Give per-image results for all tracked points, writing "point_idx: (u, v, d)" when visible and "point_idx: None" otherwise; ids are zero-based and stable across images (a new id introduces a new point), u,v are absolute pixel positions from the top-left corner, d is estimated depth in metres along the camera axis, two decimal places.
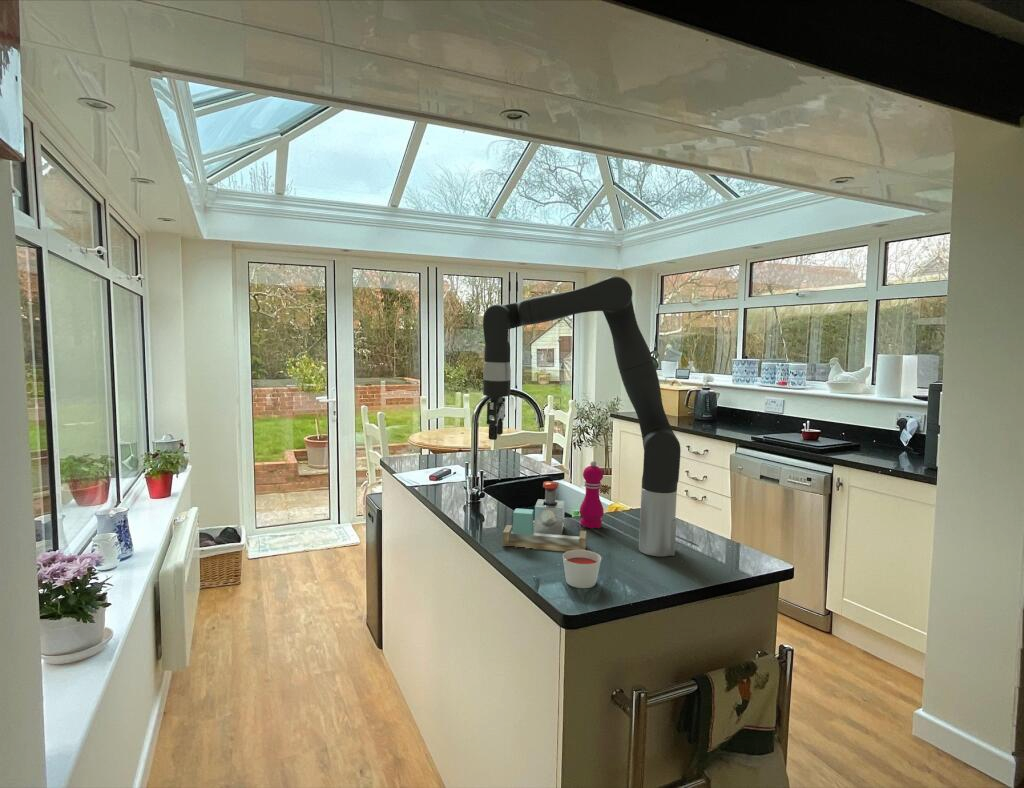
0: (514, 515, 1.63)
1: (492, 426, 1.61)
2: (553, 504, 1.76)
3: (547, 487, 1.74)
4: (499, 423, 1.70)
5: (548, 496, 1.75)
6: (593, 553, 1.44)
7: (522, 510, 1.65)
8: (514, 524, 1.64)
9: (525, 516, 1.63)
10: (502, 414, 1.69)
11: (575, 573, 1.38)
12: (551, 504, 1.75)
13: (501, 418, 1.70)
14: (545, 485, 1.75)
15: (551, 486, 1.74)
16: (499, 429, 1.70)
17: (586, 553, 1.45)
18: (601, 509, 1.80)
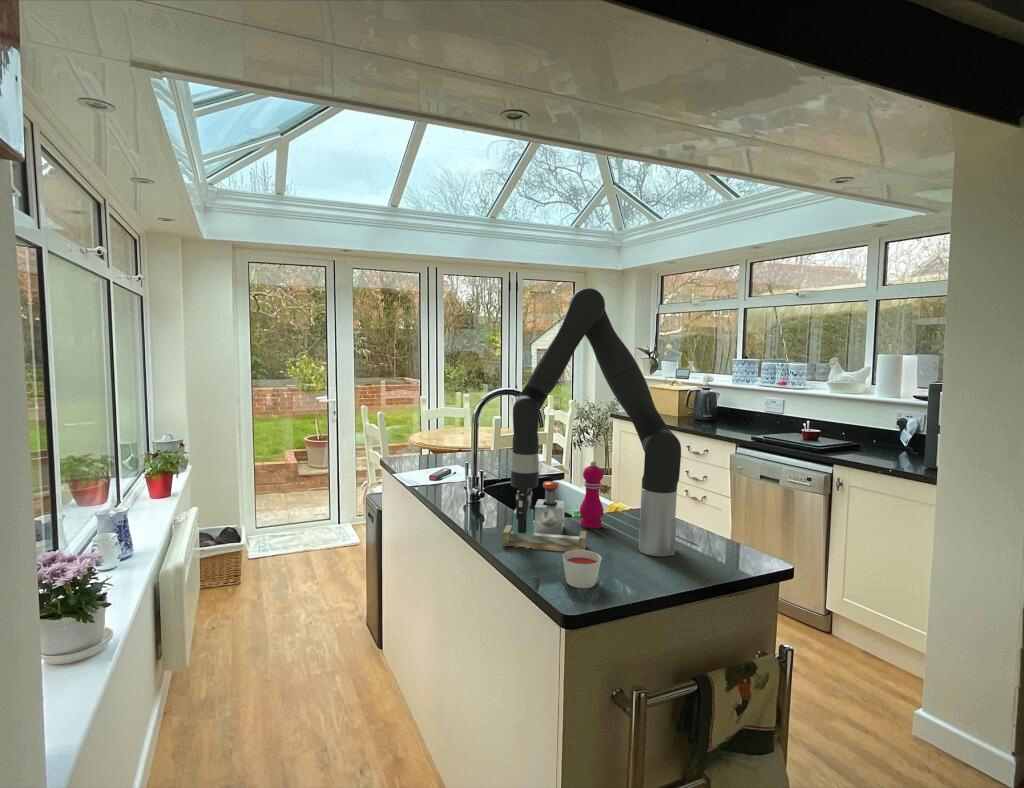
0: (514, 515, 1.63)
1: (521, 520, 1.62)
2: (553, 504, 1.76)
3: (547, 487, 1.74)
4: None
5: (548, 496, 1.75)
6: (593, 553, 1.44)
7: None
8: (514, 524, 1.64)
9: None
10: (529, 505, 1.66)
11: (575, 573, 1.38)
12: (551, 504, 1.75)
13: None
14: (545, 485, 1.75)
15: (551, 486, 1.74)
16: None
17: (586, 553, 1.45)
18: (601, 509, 1.80)
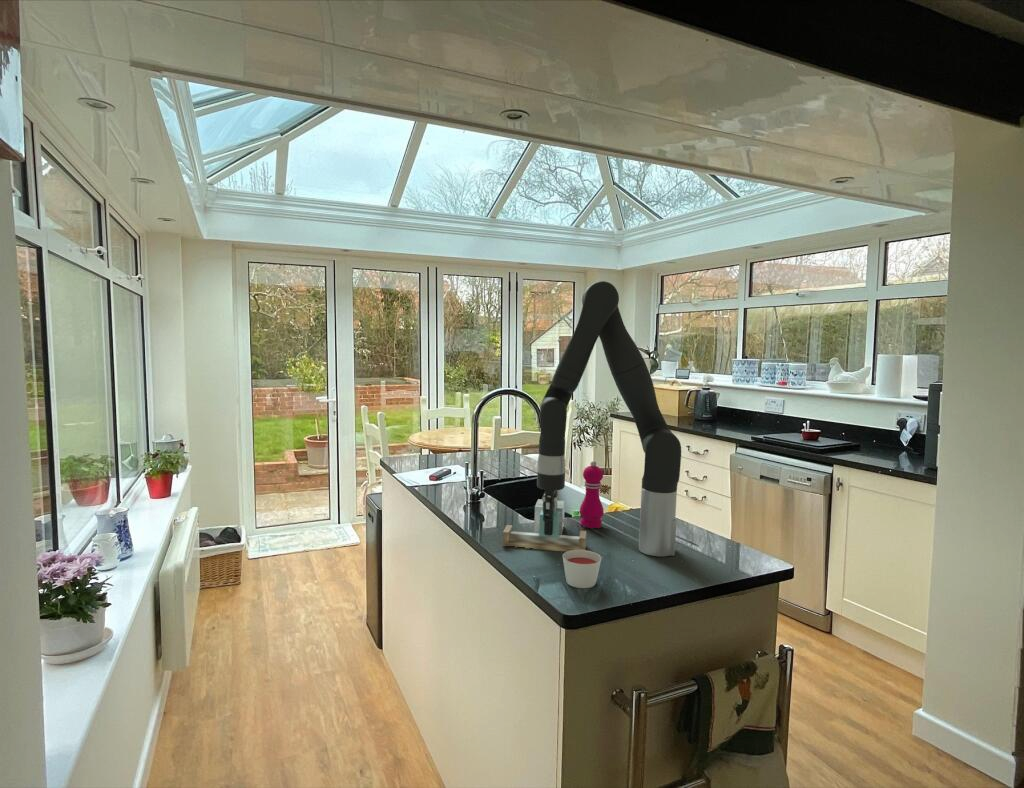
0: (540, 517, 1.62)
1: (548, 522, 1.61)
2: None
3: None
4: None
5: None
6: (593, 553, 1.44)
7: None
8: (540, 526, 1.62)
9: None
10: None
11: (575, 573, 1.38)
12: None
13: None
14: None
15: None
16: None
17: (586, 553, 1.45)
18: (601, 509, 1.80)
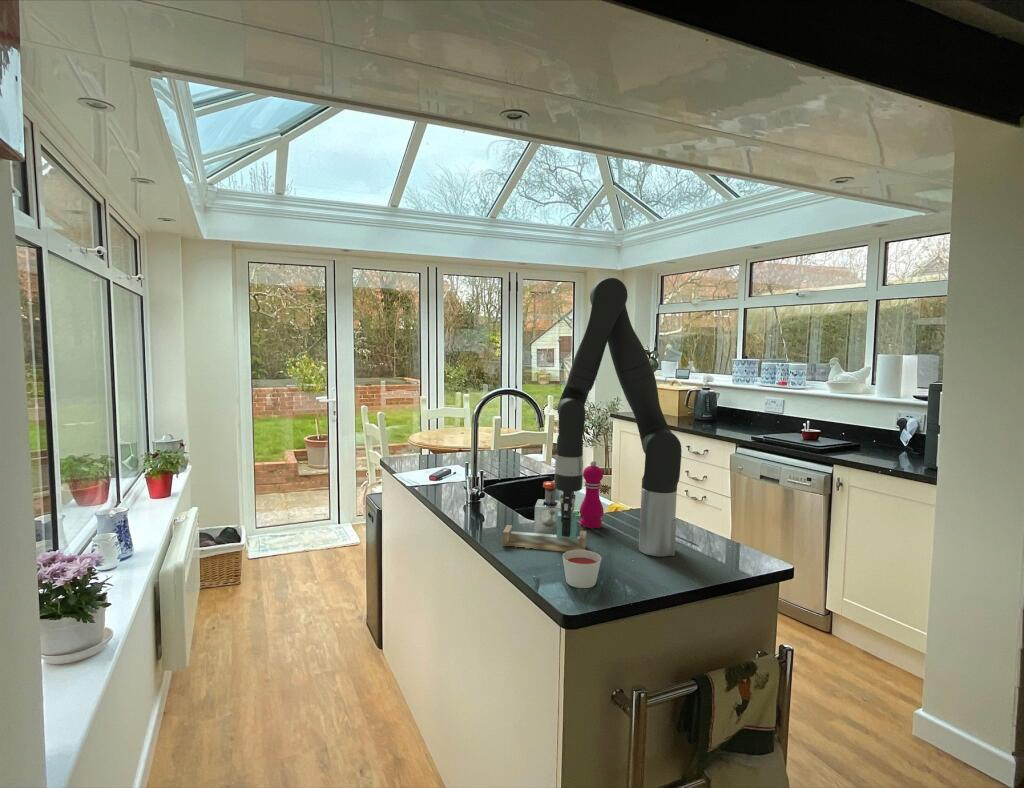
0: (558, 518, 1.61)
1: (566, 524, 1.60)
2: (553, 504, 1.76)
3: (547, 487, 1.74)
4: None
5: (548, 496, 1.75)
6: (593, 553, 1.44)
7: None
8: (558, 527, 1.62)
9: None
10: None
11: (575, 573, 1.38)
12: (551, 504, 1.75)
13: None
14: (545, 485, 1.75)
15: (551, 486, 1.74)
16: None
17: (586, 553, 1.45)
18: (601, 509, 1.80)
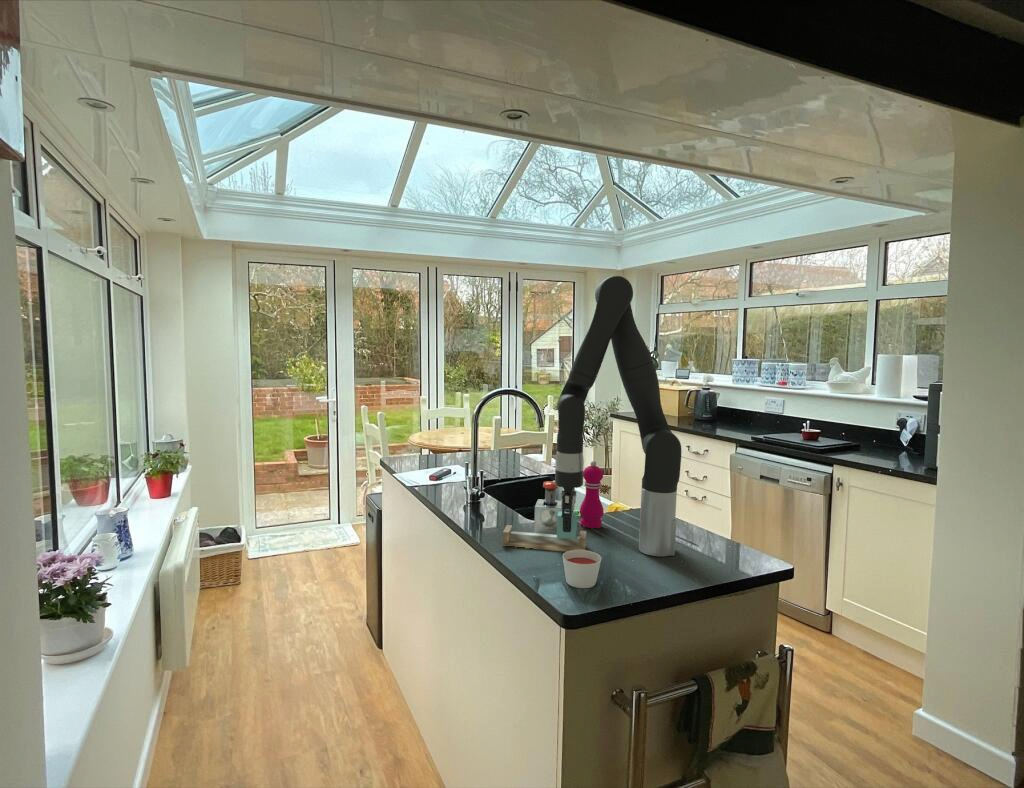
0: (558, 518, 1.61)
1: (567, 519, 1.58)
2: (553, 504, 1.76)
3: (547, 487, 1.74)
4: (570, 511, 1.67)
5: (548, 496, 1.75)
6: (593, 553, 1.44)
7: None
8: (558, 527, 1.62)
9: None
10: None
11: (575, 573, 1.38)
12: (551, 504, 1.75)
13: None
14: (545, 485, 1.75)
15: (551, 486, 1.74)
16: None
17: (586, 553, 1.45)
18: (601, 509, 1.80)
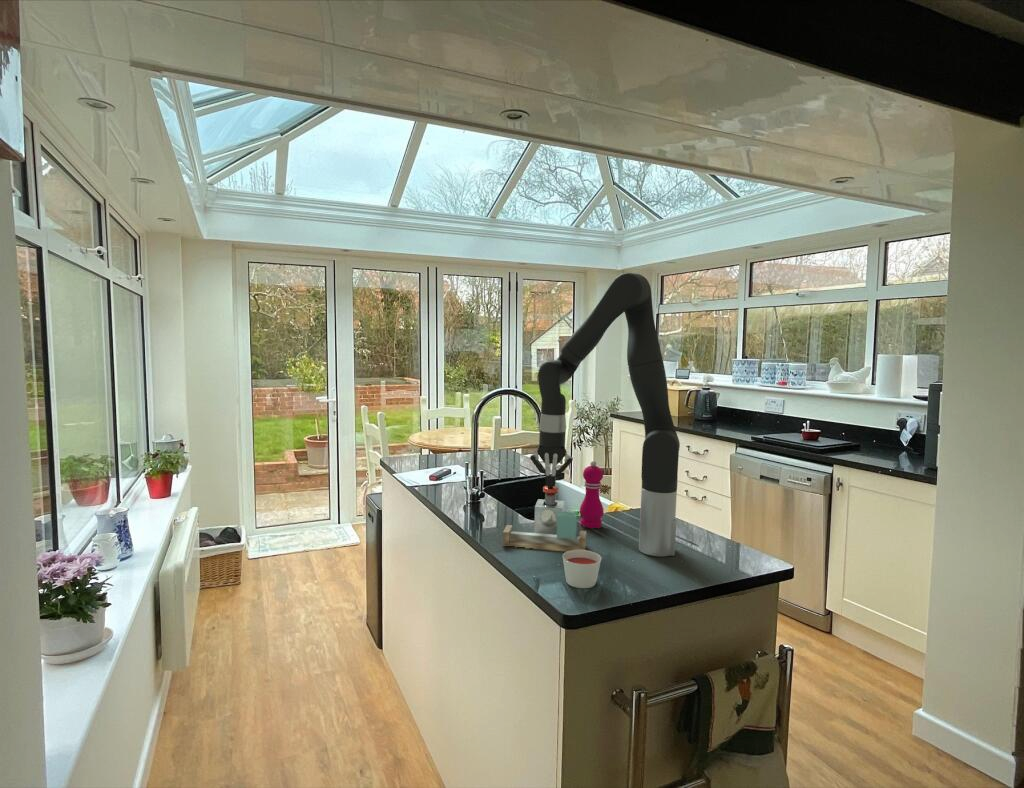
0: (558, 518, 1.61)
1: None
2: None
3: (547, 492, 1.74)
4: None
5: (548, 501, 1.75)
6: (593, 553, 1.44)
7: (565, 513, 1.63)
8: (558, 527, 1.62)
9: (569, 519, 1.61)
10: (552, 466, 1.74)
11: (575, 573, 1.38)
12: None
13: None
14: (545, 490, 1.75)
15: (551, 491, 1.74)
16: None
17: (586, 553, 1.45)
18: (601, 509, 1.80)
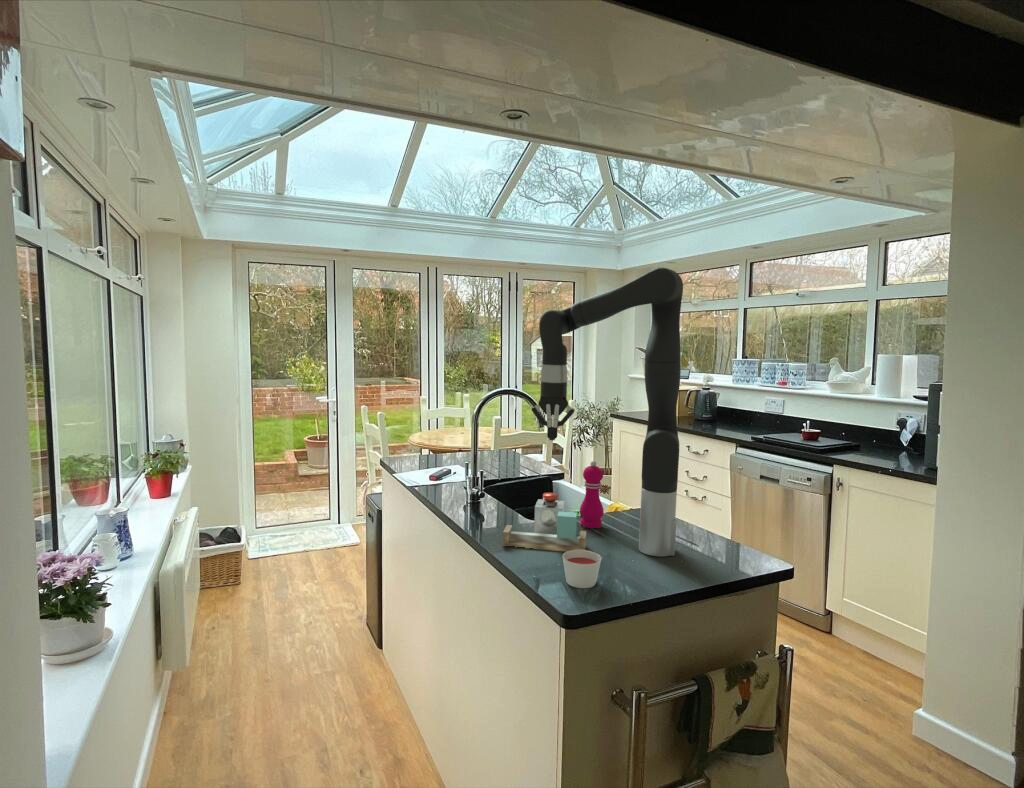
0: (558, 518, 1.61)
1: (547, 426, 1.74)
2: None
3: (547, 499, 1.75)
4: None
5: None
6: (593, 553, 1.44)
7: (565, 513, 1.63)
8: (558, 527, 1.62)
9: (569, 519, 1.61)
10: (554, 417, 1.73)
11: (575, 573, 1.38)
12: None
13: None
14: (545, 497, 1.75)
15: (551, 498, 1.74)
16: None
17: (586, 553, 1.45)
18: (601, 509, 1.80)
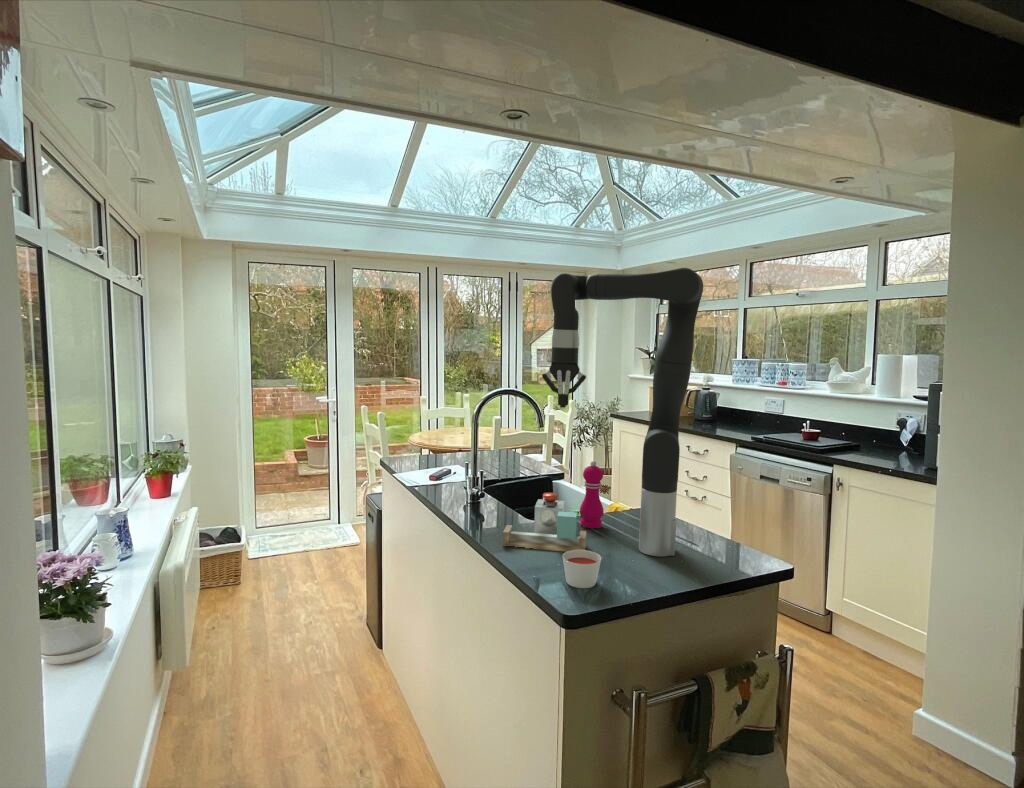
0: (558, 518, 1.61)
1: (558, 393, 1.71)
2: None
3: (547, 499, 1.75)
4: None
5: None
6: (593, 553, 1.44)
7: (565, 513, 1.63)
8: (558, 527, 1.62)
9: (569, 519, 1.61)
10: (565, 384, 1.69)
11: (575, 573, 1.38)
12: None
13: None
14: (545, 497, 1.75)
15: (551, 498, 1.74)
16: None
17: (586, 553, 1.45)
18: (601, 509, 1.80)
